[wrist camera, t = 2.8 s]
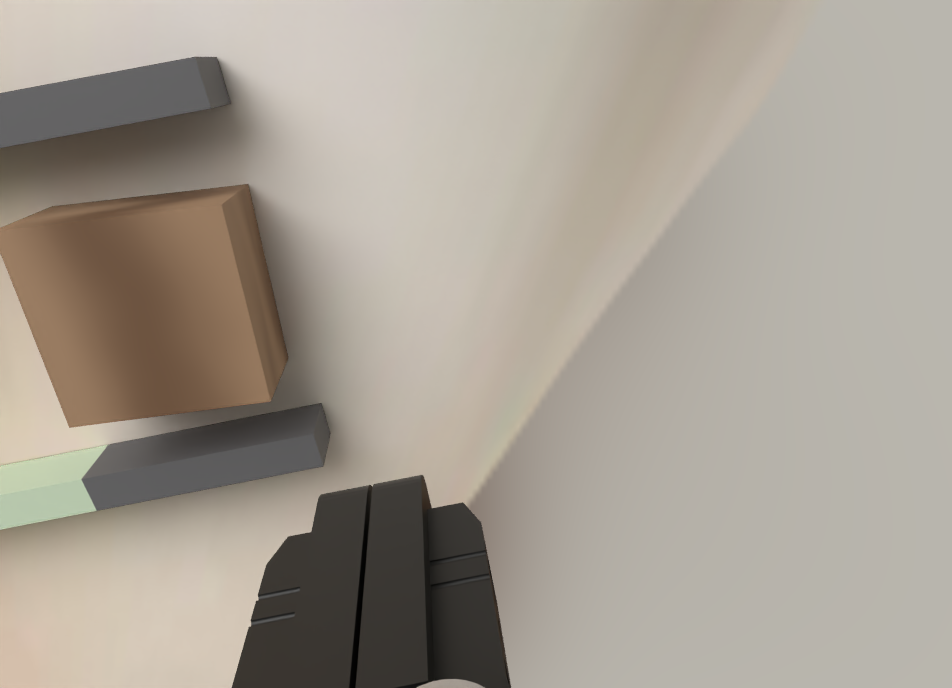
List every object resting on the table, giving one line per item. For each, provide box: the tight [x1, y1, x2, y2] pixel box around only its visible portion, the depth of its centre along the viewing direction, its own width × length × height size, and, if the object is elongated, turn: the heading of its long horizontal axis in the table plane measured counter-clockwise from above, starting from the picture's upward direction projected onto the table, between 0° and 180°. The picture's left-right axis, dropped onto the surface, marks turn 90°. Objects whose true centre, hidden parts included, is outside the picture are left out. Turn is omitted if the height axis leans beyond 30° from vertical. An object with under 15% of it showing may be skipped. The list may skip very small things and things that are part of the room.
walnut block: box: [0, 184, 288, 428], centre depth 24 cm, size 7×7×4 cm
